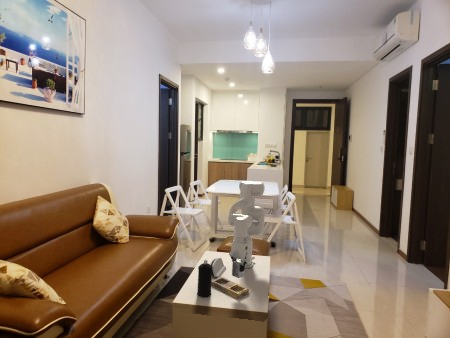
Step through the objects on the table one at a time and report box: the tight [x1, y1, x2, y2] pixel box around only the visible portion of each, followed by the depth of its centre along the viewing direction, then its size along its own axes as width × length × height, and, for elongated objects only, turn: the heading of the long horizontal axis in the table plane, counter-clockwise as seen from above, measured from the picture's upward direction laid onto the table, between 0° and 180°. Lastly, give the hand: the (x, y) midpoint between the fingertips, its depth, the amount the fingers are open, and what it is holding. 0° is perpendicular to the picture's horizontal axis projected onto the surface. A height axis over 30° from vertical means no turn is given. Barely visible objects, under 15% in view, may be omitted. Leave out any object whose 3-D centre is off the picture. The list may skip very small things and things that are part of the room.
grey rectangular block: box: [231, 259, 245, 279], centre depth 177 cm, size 5×5×8 cm
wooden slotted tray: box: [211, 276, 250, 300], centre depth 182 cm, size 9×22×3 cm, turn 48°
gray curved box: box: [209, 257, 227, 279], centre depth 203 cm, size 17×5×10 cm, turn 161°
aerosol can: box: [196, 259, 213, 298], centre depth 174 cm, size 8×8×20 cm
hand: (238, 269), depth 177 cm, fingers closed on grey rectangular block, 5 cm apart
